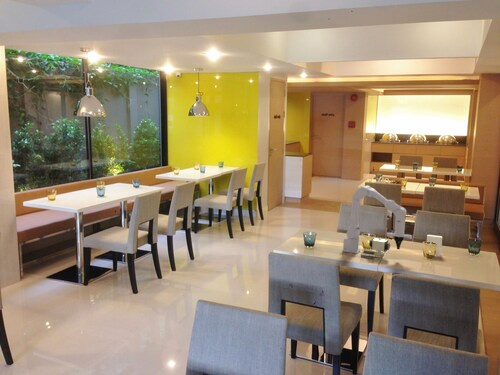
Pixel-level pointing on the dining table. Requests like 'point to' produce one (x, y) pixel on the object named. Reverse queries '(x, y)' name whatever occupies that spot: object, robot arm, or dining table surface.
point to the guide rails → (368, 255)
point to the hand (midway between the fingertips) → (398, 248)
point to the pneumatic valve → (379, 246)
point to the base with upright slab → (436, 240)
